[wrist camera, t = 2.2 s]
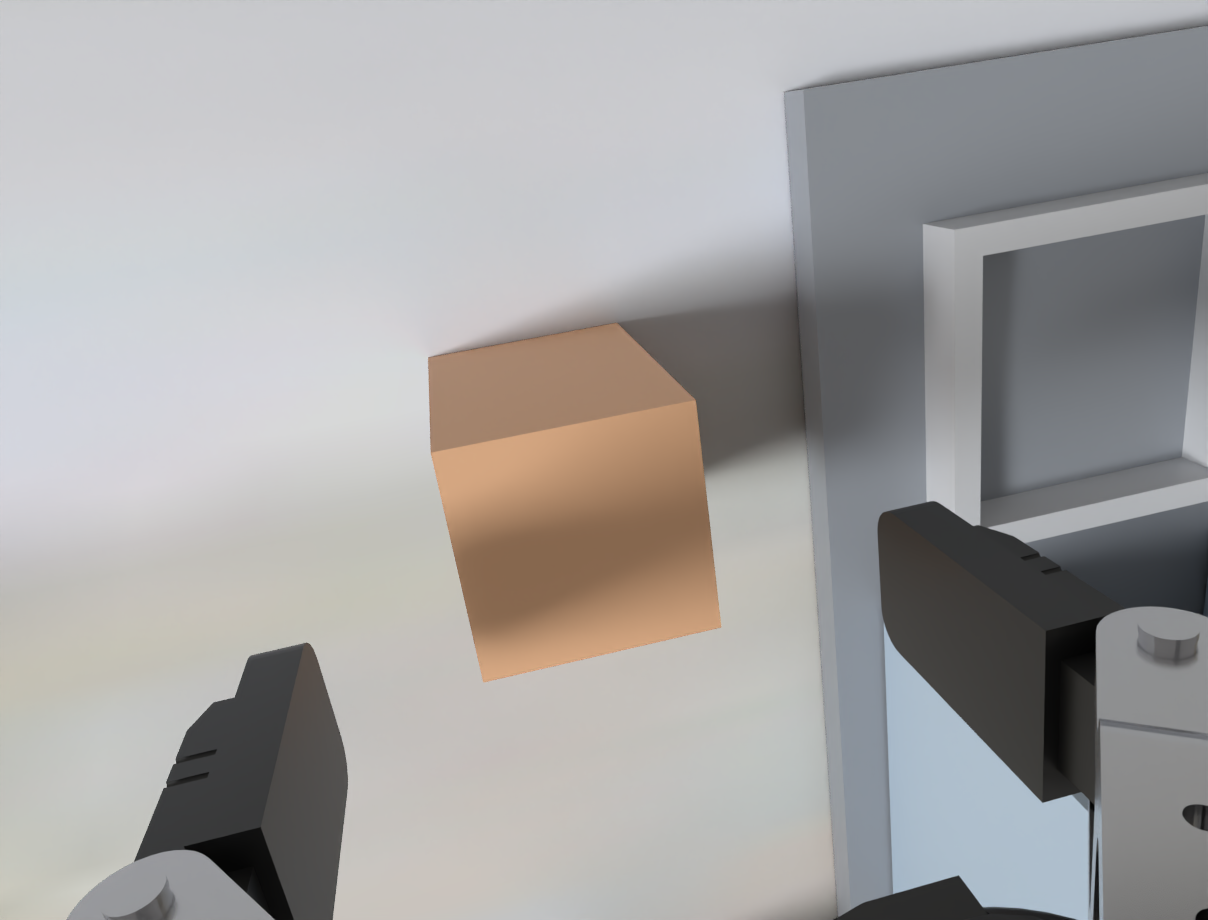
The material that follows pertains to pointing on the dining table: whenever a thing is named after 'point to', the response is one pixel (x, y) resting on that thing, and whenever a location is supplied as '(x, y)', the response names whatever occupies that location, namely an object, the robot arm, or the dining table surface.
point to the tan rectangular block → (571, 498)
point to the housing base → (998, 345)
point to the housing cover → (975, 809)
